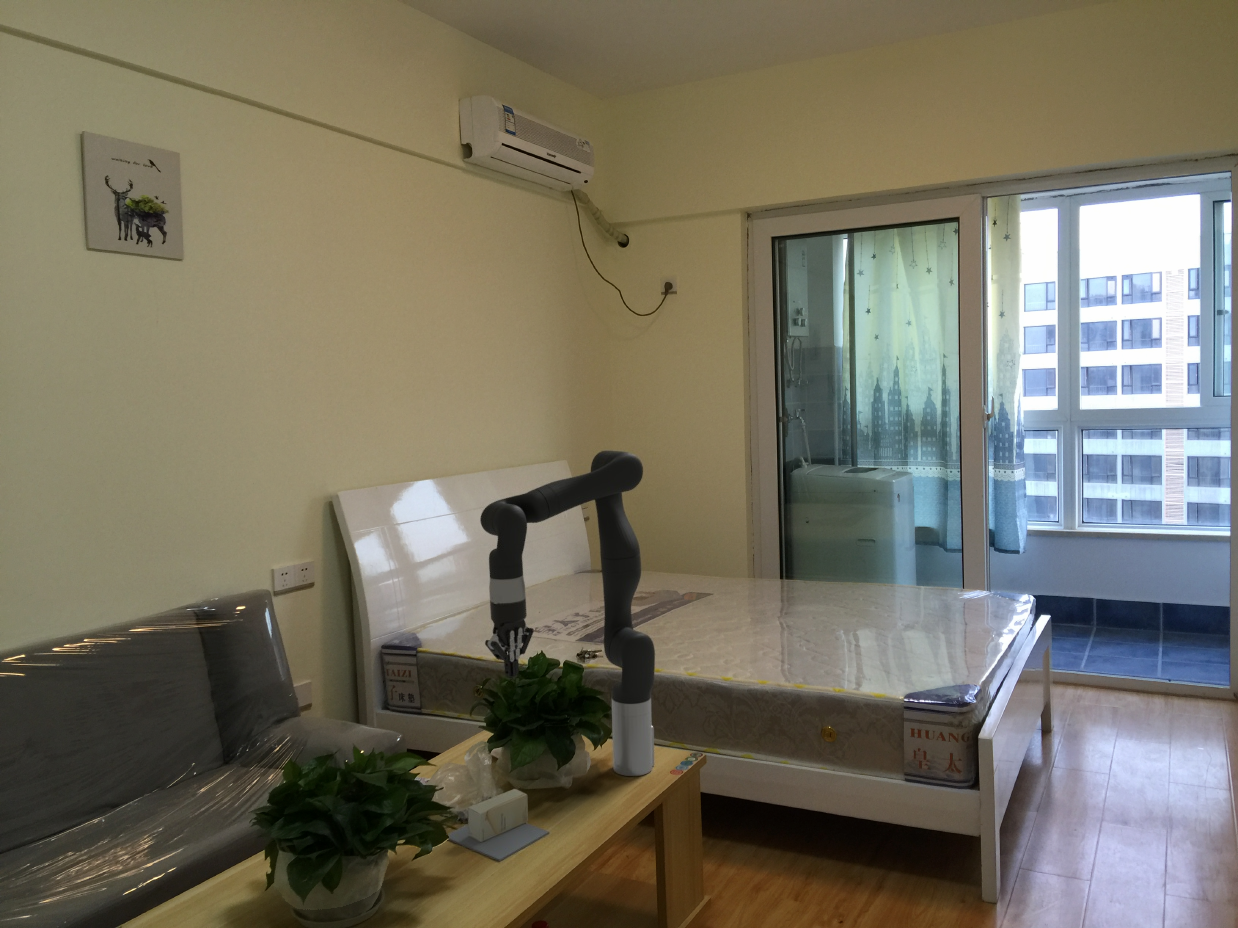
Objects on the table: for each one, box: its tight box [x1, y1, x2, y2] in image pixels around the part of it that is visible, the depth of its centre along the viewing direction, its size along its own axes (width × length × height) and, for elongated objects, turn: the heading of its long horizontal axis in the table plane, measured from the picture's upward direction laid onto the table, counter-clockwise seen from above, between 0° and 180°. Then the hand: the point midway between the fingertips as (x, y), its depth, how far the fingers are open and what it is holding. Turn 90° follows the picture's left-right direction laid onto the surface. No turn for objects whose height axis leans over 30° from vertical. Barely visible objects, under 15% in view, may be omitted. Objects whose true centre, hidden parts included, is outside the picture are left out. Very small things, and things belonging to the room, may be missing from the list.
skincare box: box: [467, 788, 529, 842], centre depth 196 cm, size 6×4×12 cm
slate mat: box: [447, 822, 550, 862], centre depth 195 cm, size 14×16×1 cm
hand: (512, 676), depth 204 cm, fingers closed
